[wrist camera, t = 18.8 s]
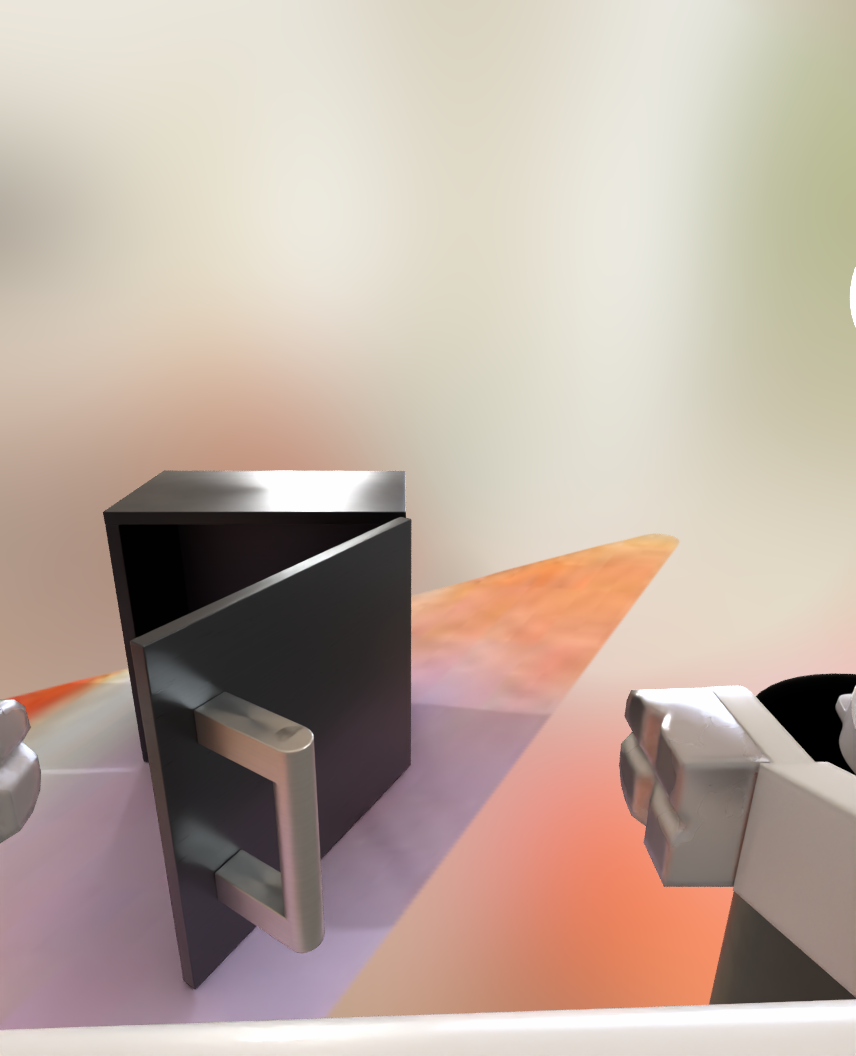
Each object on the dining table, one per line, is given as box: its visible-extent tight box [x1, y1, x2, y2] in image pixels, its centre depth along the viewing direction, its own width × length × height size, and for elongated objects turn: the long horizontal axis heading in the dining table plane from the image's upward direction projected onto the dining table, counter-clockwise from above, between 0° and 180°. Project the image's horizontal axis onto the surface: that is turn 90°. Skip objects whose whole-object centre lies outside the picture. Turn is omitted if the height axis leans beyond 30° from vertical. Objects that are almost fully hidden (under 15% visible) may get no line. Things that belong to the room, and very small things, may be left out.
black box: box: [103, 471, 406, 762], centre depth 45 cm, size 10×18×18 cm, turn 92°
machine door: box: [130, 517, 411, 989], centre depth 32 cm, size 6×18×17 cm, turn 148°
